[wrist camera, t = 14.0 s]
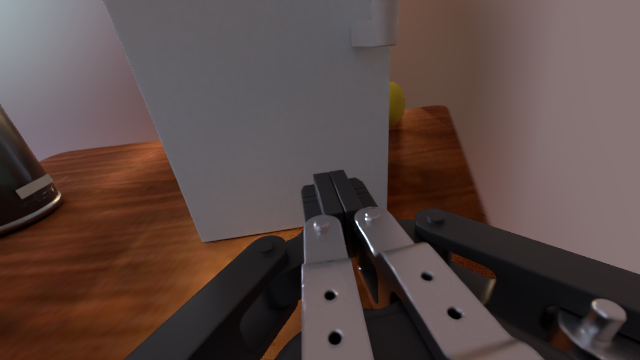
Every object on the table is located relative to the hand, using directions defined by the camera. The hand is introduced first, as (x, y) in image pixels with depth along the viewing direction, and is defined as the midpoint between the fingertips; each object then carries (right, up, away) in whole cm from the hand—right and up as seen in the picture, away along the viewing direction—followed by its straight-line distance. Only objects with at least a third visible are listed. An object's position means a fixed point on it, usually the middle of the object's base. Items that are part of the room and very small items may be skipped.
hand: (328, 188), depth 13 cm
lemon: (+11, +9, +30) cm, 33 cm away
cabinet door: (-2, -5, +8) cm, 9 cm away
